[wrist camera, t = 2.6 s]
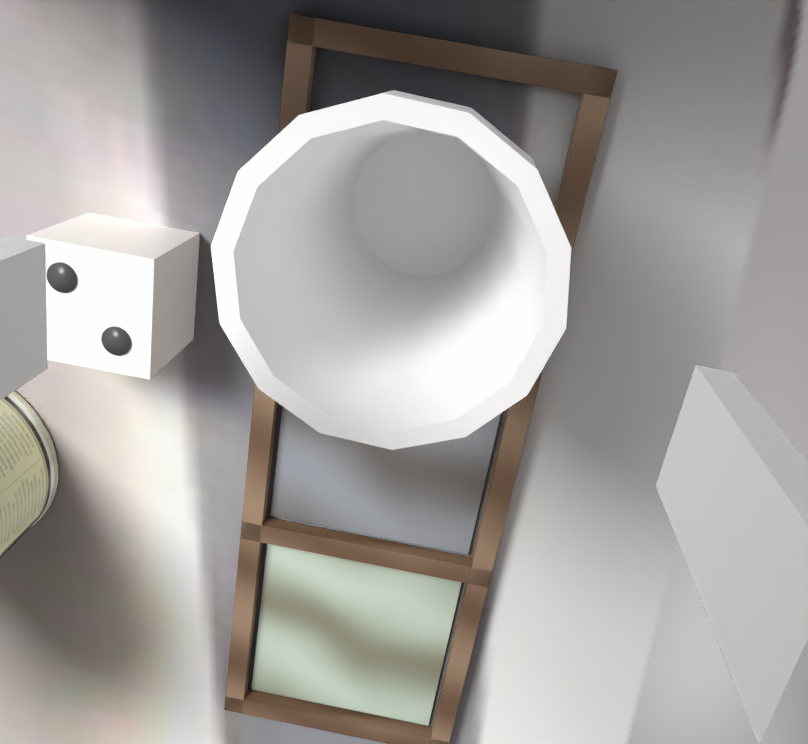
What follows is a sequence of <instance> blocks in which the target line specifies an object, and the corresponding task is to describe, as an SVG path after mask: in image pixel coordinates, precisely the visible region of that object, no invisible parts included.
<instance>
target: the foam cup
mask: <svg viewBox="0 0 808 744" xmlns="http://www.w3.org/2000/svg"><path fill="white" fill-rule="evenodd" d="M211 253H212V262H213V271H214V280H215V289H216V298H217V306H218V315H219V324H220V325H221V327H222V329H223V330H224V332H225V334H226V335H227V337H228V339H229V340H230V342H231V344H232V345H233V347H234V349H235V350H236V352H237V354H238V355H239V357H240V359H241V360H242V362H243V364H244V365H245V367H246V369H247V370H248V372H249V374H250V375H251V377H252V379H253V380H254V382H255V384H256V385H257V387H258V389H260V390H261V391H262V392H264V393H265V394H266V395H268V396H269V397H271V398H272V399H273V400H275V401H276V402H277V403H279V404H280V405H282V406H283V407H284V408H286V409H287V410H289V411H290V412H291V413H293V414H294V415H295V416H297V417H298V418H300V419H301V420H302V421H304V422H305V423H306V424H308V425H309V426H311V427H312V428H313V429H315V430H316V431H318V432H319V433H322V434H326V435H330V436H335V437H339V438H343V439H347V440H352V441H356V442H360V443H364V444H369V445H373V446H377V447H381V448H386V449H390V450H395V449H401V448H407V447H412V446H418V445H424V444H430V443H435V442H441V441H447V440H452V439H458V438H464V437H466V436H468V435H469V434H471V433H472V432H474V431H475V430H477V429H478V428H480V427H481V426H483V425H484V424H486V423H487V422H489V421H490V420H492V419H493V418H494V417H496V416H497V415H499V414H500V413H502V412H503V411H505V410H506V409H508V408H509V407H511V406H512V405H514V404H515V403H517V402H518V401H520V400H521V399H523V398H524V397H525V396H527V395H528V393H529V392H530V390H531V388H532V386H533V385H534V383H535V381H536V380H537V378H538V376H539V374H540V373H541V371H542V369H543V368H544V366H545V364H546V362H547V361H548V359H549V357H550V356H551V354H552V352H553V350H554V349H555V347H556V345H557V344H558V342H559V340H560V338H561V337H562V335H563V333H564V332H565V330H566V325H567V309H568V293H569V277H570V261H571V246H570V244H569V241H568V239H567V237H566V234H565V232H564V230H563V227H562V225H561V223H560V220H559V218H558V216H557V213H556V211H555V209H554V206H553V204H552V202H551V200H550V197H549V195H548V193H547V190H546V188H545V186H544V183H543V181H542V179H541V176H540V174H539V172H538V169H537V167H536V165H535V163H534V161H533V159H532V158H531V157H530V156H529V155H528V154H526V153H525V152H524V151H523V150H522V149H520V148H519V147H518V146H517V145H516V144H514V143H513V142H512V141H511V140H510V139H508V138H507V137H506V136H505V135H504V134H502V133H501V132H500V131H499V130H498V129H496V128H495V127H494V126H493V125H492V124H490V123H489V122H488V121H487V120H486V119H484V118H483V117H482V116H481V115H480V114H478V113H477V112H476V111H475V110H474V109H472V108H471V107H466V106H462V105H458V104H453V103H449V102H444V101H440V100H435V99H431V98H427V97H422V96H418V95H413V94H409V93H405V92H400V91H396V90H392V91H388V92H384V93H381V94H377V95H373V96H369V97H365V98H362V99H358V100H354V101H350V102H346V103H343V104H339V105H335V106H331V107H327V108H324V109H320V110H316V111H312V112H309V113H305V114H301V115H298V116H297V117H296V118H295V119H294V120H293V121H292V122H291V123H290V124H289V125H287V126H286V127H285V128H284V129H283V130H282V131H281V132H280V133H279V134H278V135H277V136H276V137H274V138H273V139H272V140H271V141H270V142H269V143H268V144H267V145H266V146H265V147H264V148H262V149H261V150H260V151H259V152H258V153H257V154H256V155H255V156H254V157H253V158H252V159H251V160H249V161H248V162H247V163H246V164H245V165H244V166H243V167H242V168H241V169H240V170H239V171H238V172H237V175H236V177H235V180H234V183H233V186H232V189H231V191H230V194H229V197H228V200H227V202H226V205H225V208H224V211H223V214H222V216H221V219H220V222H219V225H218V227H217V230H216V233H215V236H214V239H213V241H212V244H211Z"/></svg>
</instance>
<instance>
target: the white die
mask: <svg viewBox="0 0 808 744" xmlns="http://www.w3.org/2000/svg"><path fill="white" fill-rule="evenodd" d="M199 239H200V233H198V232H192V231H187V230H181V229H176V228H171V227H165V226H160V225H154V224H149V223H144V222H138V221H133V220H127V219H122V218H117V217H111V216H106V215H100V214H95V213H90V212H89V213H86V214H83V215H80V216H78V217H75V218H72V219H70V220H67V221H64V222H61V223H59V224H56V225H53V226H50V227H48V228H45V229H42V230H40V231H37V232H34V233H31V234H29V235H26V240H31V241H37V242H42V243H45V253H46V311H47V360H51V361H56V362H61V363H66V364H72V365H77V366H82V367H87V368H92V369H97V370H103V371H108V372H113V373H118V374H123V375H129V376H134V377H139V378H144V379H149V380H150V379H151V378H152V377H153V376H154V375H155V374H157V373H158V372H159V371H160V370H161V369H162V368H163V367H164V366H165V365H166V364H167V363H168V362H169V361H171V360H172V359H173V358H174V357H175V356H176V355H177V354H178V353H179V352H180V351H181V350H182V349H184V348H185V347H186V346H187V345H188V344H189V343H190V342H191V341H192V340H193V339H194V324H195V307H196V290H197V273H198V256H199Z"/></svg>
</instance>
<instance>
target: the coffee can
mask: <svg viewBox="0 0 808 744" xmlns="http://www.w3.org/2000/svg"><path fill="white" fill-rule="evenodd" d="M58 476H59V474H58V461H57V456H56V451H55V448H54V445H53V441H52V439H51V436H50V434H49V432H48V431H47V429H46V428H45V426H44V424H43V422H42V420H41V419H40V417H39V416H38V415H37V413H36V412H35V411H34V409H33V408H32V407H31V406H30V405H29V404H28V403H27V402H26V401H25V400H24V399H23V398H22V397H21V396H20V395H19V394H18V393H17V392H16V391H14V392H12V393H11V394H9V395H8V396H6V397H5V398H3V399H2V400H0V558H1V557H2V556H3V555H4V554H5V553H6V552H7V551H8V550H9V549H10V548H11V547H12V546H13V545H14V544H15V543H16V542H17V540H18V539H19V538H20V537H21V536H22V535H23V534H24V533H25V532H26V531H27V530H28V529H29V528H31V527H32V526H33V525H35V524H36V523H37V522H38V521H39V520H40V519H41V518H42V517H43V516H44V514H45V513H46V512H47V510H48V509H49V508H50V506H51V504H52V502H53V500H54V497H55V494H56V490H57V486H58Z"/></svg>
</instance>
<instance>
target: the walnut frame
mask: <svg viewBox="0 0 808 744" xmlns="http://www.w3.org/2000/svg"><path fill="white" fill-rule="evenodd" d="M317 47H320V48H325V49H331V50H337V51H342V52H348V53H354V54H360V55H365V56H371V57H377V58H382V59H388V60H394V61H399V62H405V63H411V64H417V65H422V66H428V67H434V68H439V69H445V70H451V71H456V72H462V73H468V74H474V75H479V76H485V77H491V78H496V79H502V80H508V81H514V82H519V83H525V84H531V85H536V86H542V87H548V88H553V89H559V90H565V91H571V92H576V93H582V94H581V98H580V103H579V107H578V111H577V115H576V120H575V124H574V128H573V132H572V137H571V141H570V145H569V149H568V154H567V158H566V162H565V166H564V170H563V175H562V179H561V183H560V187H559V192H558V196H557V200H556V204H555V211H556V213H557V216H558V218H559V220H560V223H561V225H562V227H563V230H564V232H565V234H566V237H567V239H568V241H569V244H570V246H571V254H572V250H573V246H574V242H575V238H576V234H577V230H578V226H579V222H580V218H581V214H582V210H583V206H584V202H585V198H586V194H587V190H588V186H589V182H590V178H591V174H592V170H593V166H594V162H595V158H596V154H597V150H598V146H599V142H600V138H601V134H602V130H603V126H604V122H605V118H606V114H607V110H608V106H609V102H610V98H611V94H612V90H613V86H614V82H615V78H616V74H617V70H612V69H607V68H601V67H595V66H589V65H584V64H578V63H572V62H566V61H561V60H555V59H549V58H543V57H538V56H532V55H526V54H520V53H515V52H509V51H503V50H497V49H492V48H486V47H480V46H474V45H469V44H463V43H457V42H451V41H446V40H440V39H434V38H428V37H423V36H417V35H411V34H405V33H400V32H394V31H388V30H382V29H377V28H371V27H365V26H359V25H354V24H348V23H342V22H336V21H331V20H325V19H319V18H313V17H308V16H302V15H296V14H289V25H288V36H287V46H286V57H285V68H284V78H283V89H282V100H281V110H280V121H279V132H278V134H279V133H280V132H281V131H282V130H283V129H284V128H285V127H286V126H287V125H289V124H290V123H291V122H292V121H293V120H294V119H295V118H296V117H297V116H298V115H301V114H305V113H309V112H310V105H311V96H312V87H313V77H314V68H315V59H316V49H317ZM542 370H543V369H542ZM541 374H542V371H541V373H540V374H539V376H538V378H537V380H536V381H535V383H534V385H533V386H532V388H531V390H530V392H529V393H528V395H527V396H525V397H524V398H523V399H521V400H520V401H518V402H517V403H515V404H514V405H512V406H511V407H509V408H508V409H507V412H506V416H505V421H504V425H503V429H502V433H501V437H500V442H499V446H498V450H497V454H496V459H495V463H494V467H493V471H492V476H491V480H490V484H489V488H488V493H487V497H486V501H485V505H484V510H483V514H482V518H481V522H480V526H479V531H478V535H477V539H476V543H475V548H474V552H473V556H472V557H468V556H463V555H458V554H453V553H448V552H442V551H437V550H432V549H427V548H422V547H417V546H412V545H407V544H402V543H397V542H392V541H387V540H382V539H377V538H372V537H367V536H362V535H357V534H351V533H346V532H341V531H336V530H331V529H326V528H321V527H316V526H311V525H306V524H301V523H296V522H291V521H286V520H281V519H276V518H271V517H266V514H267V504H268V495H269V486H270V476H271V467H272V458H273V449H274V439H275V430H276V421H277V411H278V403H277V402H276V401H275V400H273V399H272V398H271V397H269V396H268V395H266V394H265V393H264V392H262V391H261V390H260V389H258V387H257V385H256V384H255V388H254V399H253V409H252V420H251V431H250V441H249V452H248V463H247V473H246V484H245V495H244V506H243V516H242V527H241V538H240V548H239V559H238V570H237V580H236V591H235V602H234V612H233V623H232V634H231V644H230V655H229V666H228V676H227V687H226V698H225V708H224V710H228V711H233V712H238V713H243V714H247V715H252V716H257V717H262V718H267V719H272V720H276V721H281V722H286V723H291V724H296V725H301V726H305V727H310V728H315V729H320V730H325V731H330V732H334V733H339V734H344V735H349V736H354V737H358V738H363V739H368V740H373V741H378V742H383V743H387V744H449V741H450V737H451V733H452V729H453V725H454V721H455V717H456V713H457V709H458V705H459V701H460V697H461V693H462V689H463V685H464V681H465V677H466V673H467V669H468V665H469V661H470V657H471V653H472V649H473V645H474V641H475V637H476V633H477V629H478V625H479V621H480V617H481V613H482V609H483V605H484V601H485V597H486V593H487V589H488V585H489V581H490V577H491V573H492V569H493V565H494V561H495V557H496V553H497V549H498V545H499V541H500V537H501V533H502V529H503V525H504V521H505V517H506V513H507V509H508V505H509V501H510V497H511V493H512V489H513V485H514V481H515V477H516V473H517V470H518V466H519V462H520V458H521V454H522V450H523V446H524V442H525V438H526V434H527V430H528V426H529V422H530V418H531V414H532V410H533V406H534V402H535V398H536V394H537V390H538V386H539V382H540V378H541ZM500 416H501V413H500V414H499V415H497V416H496V417H494V418H493V419H492V420H490V421H489V422H487V423H486V424H484V425H483V426H481V427H480V428H478V429H477V430H475V431H474V432H472V433H471V434H469V435H468V436H466V437H464V438H458V439H452V440H447V441H441V442H435V443H430V444H424V445H418V446H412V447H407V448H401V449H395V450H390V449H386V448H381V447H377V446H373V445H369V444H364V443H360V442H356V441H352V440H347V439H343V438H339V437H335V436H330V435H326V434H322V433H319V432H318V431H316V430H315V429H313V428H312V427H311V426H309V425H308V424H306V423H305V422H304V421H302V420H301V419H300V418H298V417H297V416H295V415H294V414H293V413H291V412H290V411H289V410H287V409H286V408H284V407H283V406H282V415H281V424H280V433H279V442H278V451H277V461H276V470H275V479H274V488H273V497H272V506H271V515H270V516H275V517H280V518H285V519H290V520H295V521H300V522H305V523H311V524H316V525H321V526H326V527H331V528H336V529H341V530H346V531H351V532H356V533H361V534H366V535H371V536H376V537H381V538H386V539H391V540H397V541H402V542H407V543H412V544H417V545H422V546H427V547H432V548H437V549H442V550H447V551H452V552H457V553H462V554H467V555H468V553H469V549H470V544H471V540H472V536H473V532H474V527H475V523H476V519H477V514H478V510H479V506H480V501H481V497H482V493H483V489H484V484H485V480H486V476H487V471H488V467H489V463H490V459H491V454H492V450H493V446H494V441H495V437H496V433H497V429H498V424H499V420H500ZM263 543H266V544H267V551H266V560H265V569H264V578H263V588H262V597H261V606H260V615H259V624H258V633H257V642H256V651H255V660H254V669H253V678H252V687H251V689H253V690H250V689H248V681H249V671H250V662H251V653H252V643H253V634H254V625H255V616H256V606H257V597H258V588H259V578H260V569H261V560H262V551H263ZM461 583H466V586H465V590H464V594H463V599H462V603H461V607H460V611H459V615H458V620H457V624H456V628H455V632H454V637H453V641H452V645H451V649H450V654H449V658H448V662H447V666H446V671H445V675H444V679H443V683H442V687H441V692H440V696H439V700H438V704H437V709H436V713H435V717H434V721H433V726H432V727H430V726H425V725H429V720H430V716H431V712H432V707H433V703H434V699H435V695H436V690H437V686H438V682H439V677H440V673H441V669H442V665H443V660H444V656H445V652H446V647H447V643H448V639H449V634H450V630H451V626H452V622H453V617H454V613H455V609H456V604H457V600H458V596H459V592H460V587H461ZM255 690H258V691H255ZM260 691H263V692H260ZM265 692H267V693H265ZM270 693H272V694H270ZM275 694H277V695H275ZM279 695H282V696H279ZM284 696H287V697H284ZM289 697H292V698H289ZM294 698H297V699H294ZM299 699H301V700H299ZM304 700H306V701H304ZM308 701H311V702H308ZM313 702H316V703H313ZM318 703H321V704H318ZM323 704H326V705H323ZM328 705H331V706H328ZM333 706H335V707H333ZM338 707H340V708H338ZM342 708H345V709H342ZM347 709H350V710H347ZM352 710H355V711H352ZM357 711H360V712H357ZM362 712H365V713H362ZM367 713H369V714H367ZM372 714H374V715H372ZM376 715H379V716H376ZM381 716H384V717H381ZM386 717H389V718H386ZM391 718H394V719H391ZM396 719H398V720H396ZM401 720H403V721H401ZM406 721H408V722H406ZM410 722H413V723H410ZM415 723H418V724H415ZM420 724H423V725H420Z"/></svg>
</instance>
